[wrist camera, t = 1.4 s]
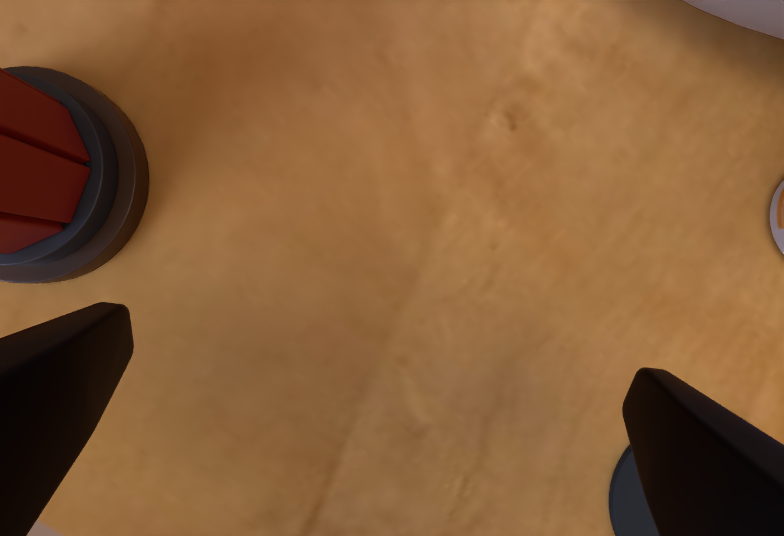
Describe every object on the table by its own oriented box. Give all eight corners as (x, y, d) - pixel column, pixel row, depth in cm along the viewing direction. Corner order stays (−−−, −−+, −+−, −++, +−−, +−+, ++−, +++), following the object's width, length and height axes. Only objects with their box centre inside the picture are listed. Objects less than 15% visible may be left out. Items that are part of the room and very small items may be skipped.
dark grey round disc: (-10, 317, 22) (-58, 322, 19) (-96, 128, 22) (-155, 109, 19) (182, 230, 22) (159, 224, 20) (97, 44, 22) (62, 16, 20)
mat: (652, 615, 22) (657, 621, 22) (580, 460, 22) (584, 464, 22) (801, 540, 23) (809, 545, 22) (730, 387, 23) (737, 389, 22)
